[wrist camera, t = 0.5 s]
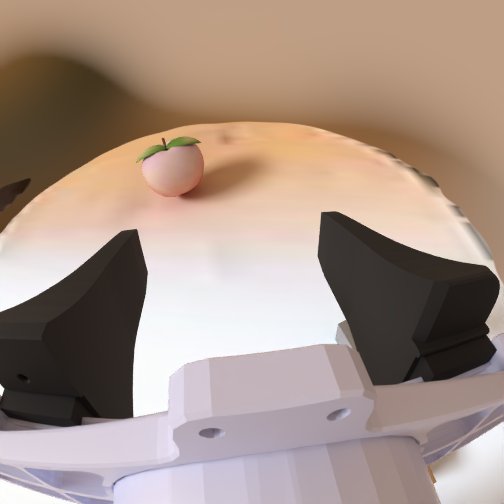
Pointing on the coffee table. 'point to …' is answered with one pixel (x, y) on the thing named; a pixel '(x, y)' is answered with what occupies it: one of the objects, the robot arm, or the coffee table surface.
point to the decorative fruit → (173, 166)
